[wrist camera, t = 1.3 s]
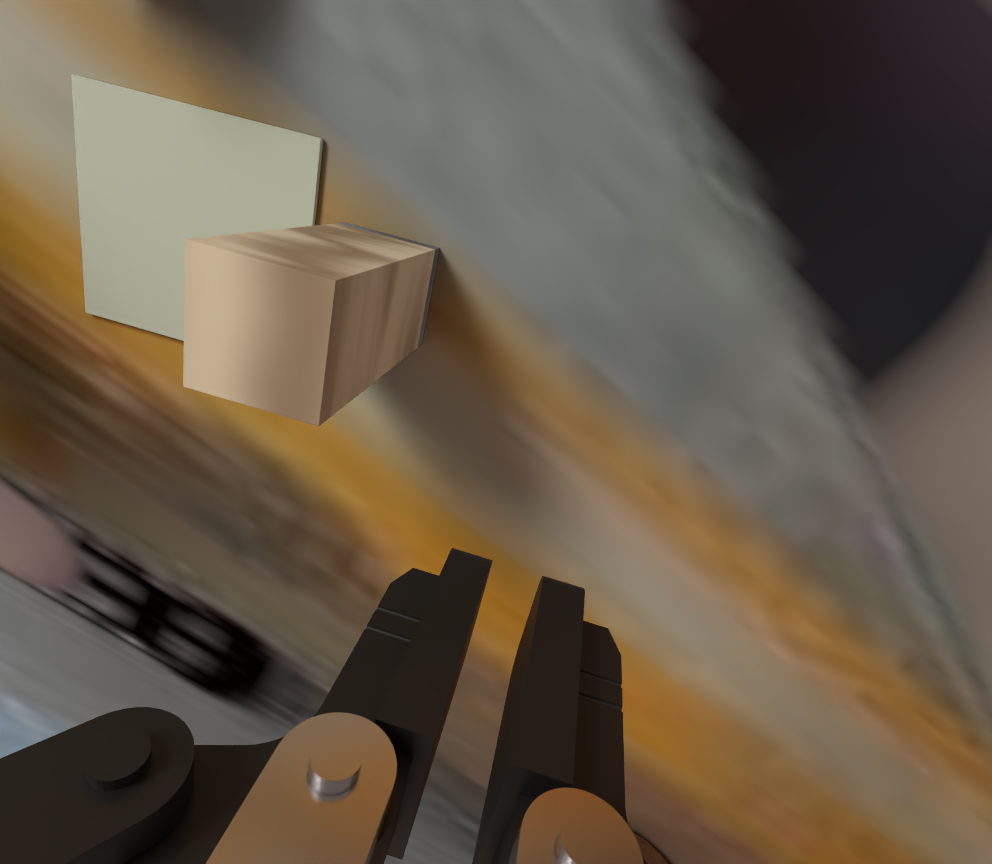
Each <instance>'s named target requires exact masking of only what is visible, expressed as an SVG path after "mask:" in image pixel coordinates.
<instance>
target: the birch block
mask: <svg viewBox="0 0 992 864" xmlns="http://www.w3.org/2000/svg"><path fill="white" fill-rule="evenodd" d="M439 250H440V248H437V247H434V246H430V245H426V244H423V243H419V242H415V241H411V240H408V239H404V238H400V237H396V236H393V235H389V234H385V233H382V232H378V231H374V230H370V229H367V228H363V227H359V226H355V225H352V224H348V223H335V224H326V225H316V226H306V227H297V228H287V229H277V230H268V231H258V232H248V233H238V234H229V235H219V236H209V237H200V238H190V239H185V286H184V377H183V386H184V387H187V388H190V389H194V390H197V391H201V392H204V393H207V394H211V395H214V396H217V397H221V398H224V399H228V400H231V401H234V402H238V403H241V404H244V405H248V406H251V407H255V408H258V409H261V410H265V411H268V412H271V413H275V414H278V415H282V416H285V417H288V418H292V419H295V420H298V421H302V422H305V423H309V424H312V425H315V426H320V425H321V424H322V423H324V422H325V421H326V420H327V419H329V418H330V417H331V416H332V415H334V414H335V413H336V412H337V411H339V410H340V409H341V408H342V407H344V406H345V405H346V404H347V403H349V402H350V401H351V400H353V399H354V398H355V397H356V396H358V395H359V394H360V393H361V392H363V391H364V390H365V389H366V388H368V387H369V386H370V385H371V384H373V383H374V382H375V381H376V380H378V379H379V378H380V377H381V376H383V375H384V374H385V373H386V372H388V371H389V370H390V369H391V368H393V367H394V366H395V365H396V364H398V363H399V362H400V361H402V360H403V359H404V358H405V357H407V356H408V355H409V354H410V353H412V352H413V351H414V350H415V349H417V348H418V347H419V346H420V345H422V341H423V336H424V331H425V325H426V320H427V314H428V309H429V304H430V298H431V293H432V287H433V282H434V277H435V271H436V266H437V260H438V255H439Z"/></svg>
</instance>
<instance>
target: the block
mask: <svg viewBox="0 0 992 864" xmlns="http://www.w3.org/2000/svg"><path fill="white" fill-rule="evenodd" d="M633 834H634V836H635V838H636V840H637V842H638V845H639V847H640V850H641V854H642V856H643V857H644V859H645V860H646V862H647V863H648V864H668V863H667V861H666V860H665V859H664V858H663V857H662V855H661V854H660V853H659V852H658V851H657V850H656V849H655V848H654V847H653V846H652V845H651V844H650V843H649V842H647V841H646V840H644V839H643V838H641V837H640V836H638V835H636V834H635V833H633Z"/></svg>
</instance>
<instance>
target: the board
mask: <svg viewBox="0 0 992 864" xmlns="http://www.w3.org/2000/svg"><path fill="white" fill-rule="evenodd" d="M71 78H72V94H73V111H74V128H75V145H76V162H77V178H78V195H79V212H80V229H81V246H82V262H83V279H84V296H85V312H86V313H89V314H93V315H96V316H100V317H103V318H106V319H110V320H113V321H117V322H120V323H124V324H127V325H131V326H134V327H137V328H141V329H144V330H148V331H151V332H155V333H158V334H162V335H165V336H168V337H172V338H175V339H179V340H182V341H184V286H185V239H190V238H200V237H209V236H219V235H229V234H238V233H248V232H258V231H268V230H277V229H287V228H297V227H306V226H315V221H316V211H317V201H318V190H319V180H320V170H321V160H322V150H323V140H324V139H322V138H318V137H314V136H311V135H307V134H303V133H299V132H295V131H291V130H287V129H283V128H280V127H276V126H272V125H268V124H264V123H260V122H256V121H252V120H249V119H245V118H241V117H237V116H233V115H229V114H225V113H221V112H217V111H214V110H210V109H206V108H202V107H198V106H194V105H190V104H186V103H183V102H179V101H175V100H171V99H167V98H163V97H159V96H155V95H152V94H148V93H144V92H140V91H136V90H132V89H128V88H124V87H121V86H117V85H113V84H109V83H105V82H101V81H97V80H93V79H90V78H86V77H82V76H78V75H74V74H71Z"/></svg>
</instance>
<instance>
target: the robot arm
mask: <svg viewBox="0 0 992 864" xmlns="http://www.w3.org/2000/svg"><path fill="white" fill-rule="evenodd" d="M492 561H493V560H490V559H486V558H483V557H480V556H476V555H473V554H470V553H467V552H463V551H460V550H457V549H454V548H452V549H451V551H450V553H449V555H448V558H447V560H446V562H445V564H444V567H443V569H442V571H441V573H440V576H438V575H435V574H431V573H428V572H425V571H422V570H418V569H415V568H412V569H411V570H409V571H408V572H406V573H405V574H403V575H402V576H400V577H399V578H398V579H396V580H395V581H393V582H392V583H391V584H390V585H389V587H388V589H387V591H386V592H385V594H384V596H383V598H382V600H381V601H380V603H379V605H378V608H377V610H375V612H374V614H373V616H372V617H371V619H370V621H369V623H368V624H367V628H366V630H364V632H363V633H362V635H361V637H360V639H359V640H358V642H357V644H356V646H355V647H354V649H353V651H352V653H351V655H350V656H349V658H348V660H347V662H346V663H345V665H344V667H343V669H342V671H341V672H340V674H339V676H338V678H337V679H336V681H335V683H334V685H333V687H332V688H331V690H330V692H329V694H328V695H327V697H326V699H325V701H324V703H323V704H322V706H321V707H320V709H319V710H318V712H317V713H316V714H315V715H314V716H313V717H312V718H309V719H307V720H306V721H304V722H302V723H300V724H299V725H297V726H296V727H294V728H293V729H292V730H291V731H290V732H289V733H288V734H287V735H286V736H285V737H282V738H280V739H277V740H274V741H271V742H267V743H262V744H257V745H194V739H193V736H192V734H191V731H190V729H189V728H188V726H187V725H186V724H185V722H183V721H182V720H181V719H180V718H179V717H177V716H176V715H174V714H172V713H170V712H167V711H164V710H161V709H156V708H150V707H135V708H127V709H122V710H118V711H114V712H110V713H107V714H105V715H102V716H99V717H97V718H94V719H92V720H90V721H87V722H85V723H83V724H80V725H78V726H76V727H73V728H71V729H69V730H66V731H64V732H62V733H59V734H57V735H55V736H52V737H50V738H48V739H45V740H43V741H41V742H38V743H36V744H34V745H31V746H29V747H26V748H24V749H22V750H19V751H17V752H15V753H12V754H10V755H8V756H5V757H3V758H1V759H0V864H384V861H385V858H386V855H390V856H393V857H396V858H398V859H401V860H402V858H403V855H404V852H405V849H406V846H407V842H408V839H409V836H410V833H411V830H412V826H413V823H414V820H415V817H416V814H417V810H418V807H419V804H420V801H421V797H422V794H423V791H424V788H425V785H426V781H427V778H428V775H429V772H430V769H431V765H432V762H433V759H434V756H435V753H436V749H437V746H438V743H439V740H440V736H441V733H442V730H443V727H444V724H445V720H446V717H447V714H448V711H449V708H450V704H451V701H452V698H453V695H454V692H455V688H456V685H457V682H458V679H459V676H460V672H461V669H462V666H463V663H464V659H465V656H466V653H467V649H468V646H469V643H470V639H471V636H472V632H473V629H474V625H475V622H476V618H477V615H478V611H479V608H480V604H481V600H482V597H483V593H484V590H485V586H486V583H487V579H488V576H489V572H490V568H491V565H492ZM584 598H585V590H584V588H581V587H577V586H574V585H571V584H568V583H564V582H561V581H558V580H555V579H551V578H548V577H545V576H542V578H541V580H540V583H539V586H538V589H537V592H536V595H535V598H534V601H533V604H532V607H531V610H530V613H529V616H528V619H527V622H526V625H525V628H524V631H523V634H522V638H521V641H520V644H519V647H518V650H517V654H516V657H515V661H514V665H513V669H512V673H511V677H510V682H509V687H508V692H507V697H506V701H505V706H504V711H503V716H502V721H501V726H500V731H499V736H498V740H497V745H496V750H495V755H494V760H493V765H492V770H491V775H490V780H489V784H488V789H487V794H486V799H485V804H484V809H483V814H482V819H481V824H480V828H479V833H478V838H477V843H476V848H475V853H474V858H473V863H472V864H648V863H647V862H646V860H645V859H644V857H643V856H642V854H641V850H640V847H639V845H638V842H637V840H636V838H635V836H634V834H633V832H632V831H631V829H630V827H629V825H628V821H627V817H626V809H625V784H624V746H623V712H621V710H622V688H621V684H622V669H621V654H620V652H619V650H618V648H617V646H616V644H615V642H614V640H613V638H612V636H611V634H610V631H609V629H608V628H605V627H602V626H598V625H595V624H592V623H589V622H586V621H583V614H584Z"/></svg>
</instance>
